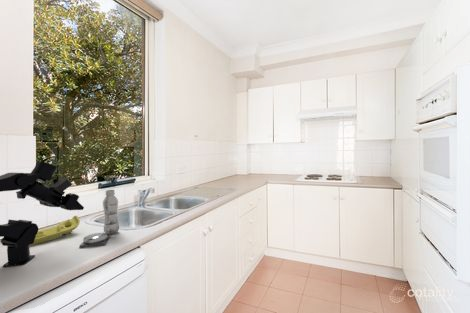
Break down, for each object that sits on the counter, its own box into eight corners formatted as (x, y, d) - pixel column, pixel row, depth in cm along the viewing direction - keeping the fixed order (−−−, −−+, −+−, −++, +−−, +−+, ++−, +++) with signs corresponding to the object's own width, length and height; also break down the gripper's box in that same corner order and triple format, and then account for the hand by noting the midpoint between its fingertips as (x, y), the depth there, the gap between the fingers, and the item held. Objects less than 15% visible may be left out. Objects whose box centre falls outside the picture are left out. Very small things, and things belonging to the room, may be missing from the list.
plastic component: (26, 241, 97) (22, 226, 103) (28, 255, 100) (23, 239, 106) (82, 225, 112) (75, 213, 117) (82, 237, 115) (75, 224, 120)
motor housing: (104, 245, 98) (104, 239, 98) (79, 248, 96) (79, 241, 96) (110, 237, 107) (109, 231, 107) (87, 239, 104) (87, 233, 104)
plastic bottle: (116, 229, 116) (114, 188, 115) (121, 233, 111) (119, 190, 110) (101, 233, 112) (100, 190, 111) (106, 237, 107) (104, 192, 106)
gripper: (68, 175, 92) (100, 192, 104) (41, 172, 99) (73, 188, 112) (50, 202, 86) (86, 217, 98) (23, 197, 94) (59, 211, 106)
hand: (76, 207), depth 104 cm, fingers open, 9 cm apart
